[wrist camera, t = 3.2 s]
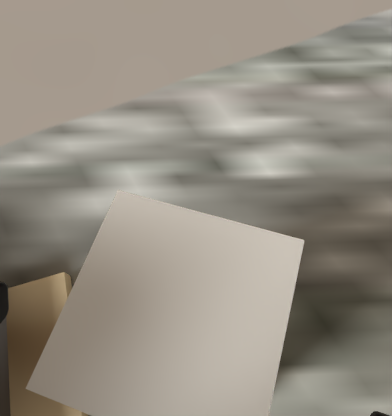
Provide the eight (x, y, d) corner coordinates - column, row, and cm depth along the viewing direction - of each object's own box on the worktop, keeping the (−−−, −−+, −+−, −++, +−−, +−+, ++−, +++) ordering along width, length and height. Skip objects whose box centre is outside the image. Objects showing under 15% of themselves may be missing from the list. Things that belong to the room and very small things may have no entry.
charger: (233, 413, 15) (254, 482, 6) (137, 377, 16) (25, 389, 7) (258, 307, 17) (305, 233, 8) (171, 280, 17) (120, 184, 8)
